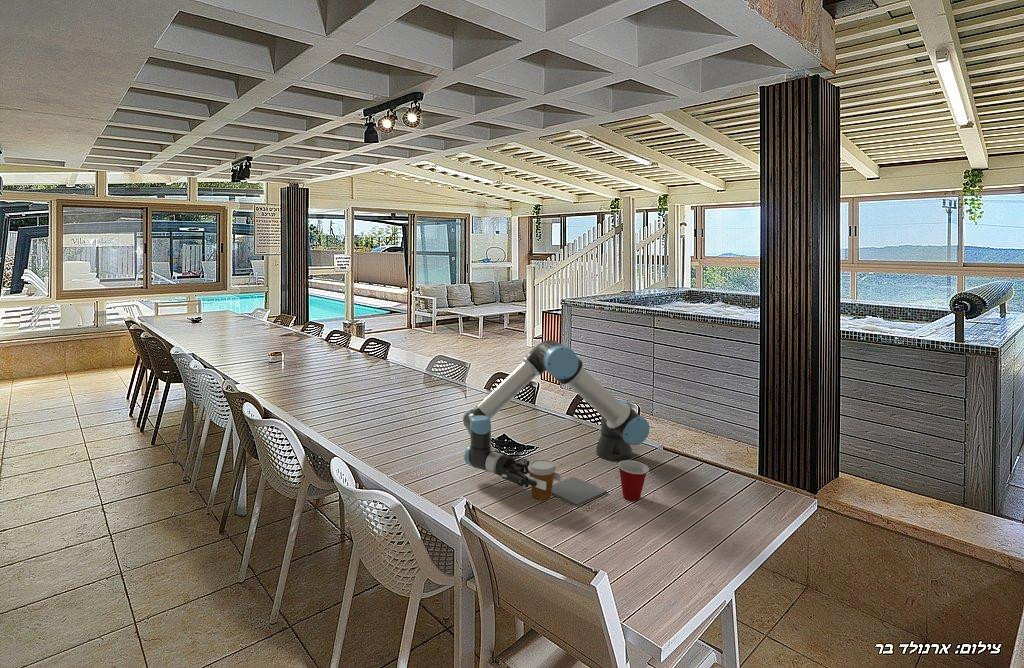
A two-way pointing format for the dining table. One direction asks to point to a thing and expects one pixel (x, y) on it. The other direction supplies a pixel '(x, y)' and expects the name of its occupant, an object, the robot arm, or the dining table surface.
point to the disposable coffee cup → (542, 478)
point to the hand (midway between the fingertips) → (553, 481)
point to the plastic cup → (632, 478)
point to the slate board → (576, 491)
